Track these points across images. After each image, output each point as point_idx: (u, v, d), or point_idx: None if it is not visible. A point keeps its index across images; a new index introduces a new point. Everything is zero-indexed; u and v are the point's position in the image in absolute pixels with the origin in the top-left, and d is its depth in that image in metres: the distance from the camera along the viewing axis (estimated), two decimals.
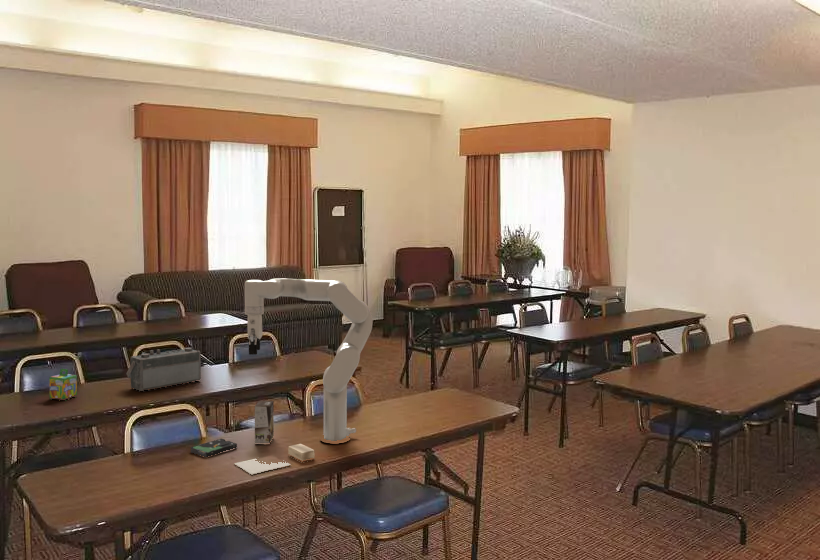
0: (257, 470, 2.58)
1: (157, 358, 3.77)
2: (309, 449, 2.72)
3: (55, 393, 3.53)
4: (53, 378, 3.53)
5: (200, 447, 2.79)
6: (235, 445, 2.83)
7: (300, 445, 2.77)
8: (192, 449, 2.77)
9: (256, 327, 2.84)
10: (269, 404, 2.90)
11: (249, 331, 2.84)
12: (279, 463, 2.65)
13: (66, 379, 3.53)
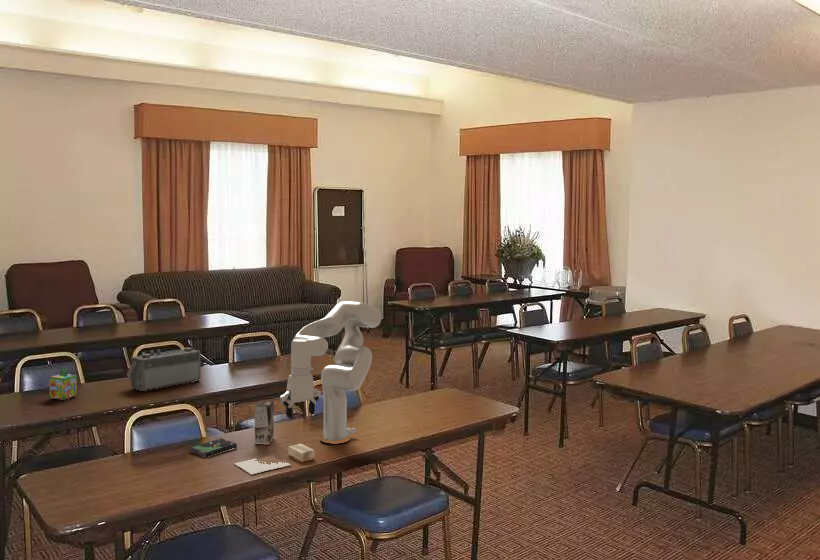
0: (257, 470, 2.58)
1: (158, 358, 3.77)
2: (309, 449, 2.72)
3: (55, 393, 3.53)
4: (53, 378, 3.53)
5: (199, 447, 2.79)
6: (235, 445, 2.83)
7: (300, 445, 2.77)
8: (192, 449, 2.78)
9: None
10: (269, 404, 2.90)
11: None
12: (279, 463, 2.65)
13: (66, 379, 3.53)
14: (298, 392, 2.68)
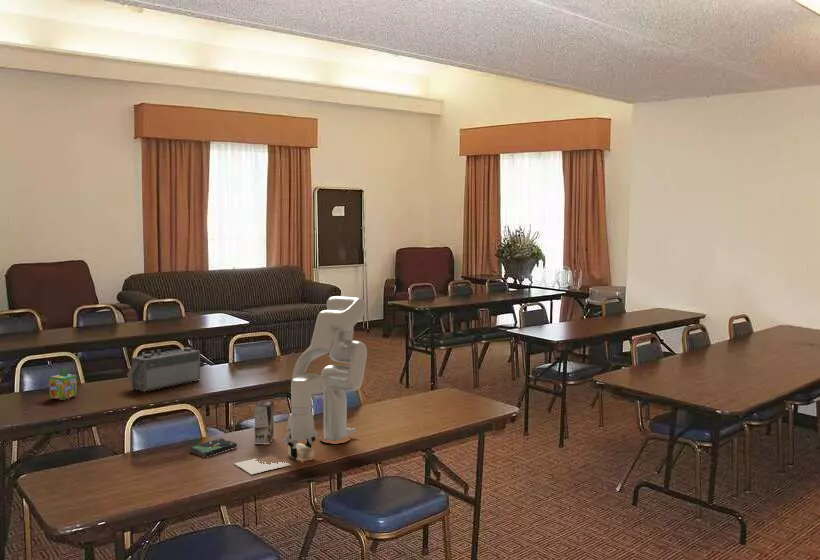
0: (257, 470, 2.58)
1: (159, 358, 3.76)
2: (309, 449, 2.72)
3: (55, 393, 3.53)
4: (53, 378, 3.53)
5: (199, 447, 2.79)
6: (235, 445, 2.83)
7: (300, 444, 2.77)
8: (192, 449, 2.78)
9: None
10: (269, 404, 2.90)
11: None
12: (279, 463, 2.65)
13: (66, 379, 3.53)
14: (298, 431, 2.69)
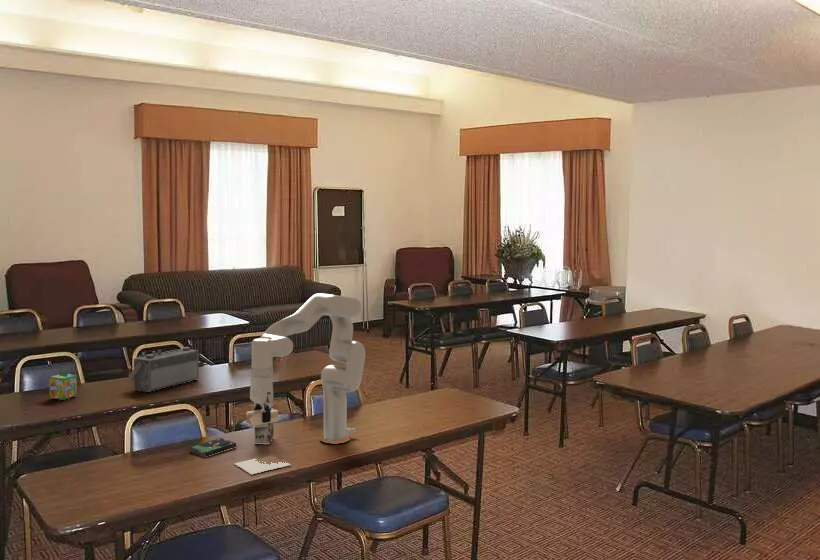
0: (257, 470, 2.58)
1: (162, 358, 3.76)
2: None
3: (55, 393, 3.53)
4: (53, 378, 3.53)
5: (199, 446, 2.79)
6: (234, 444, 2.83)
7: (252, 411, 2.62)
8: (191, 449, 2.78)
9: None
10: None
11: None
12: (279, 463, 2.65)
13: (66, 379, 3.53)
14: None
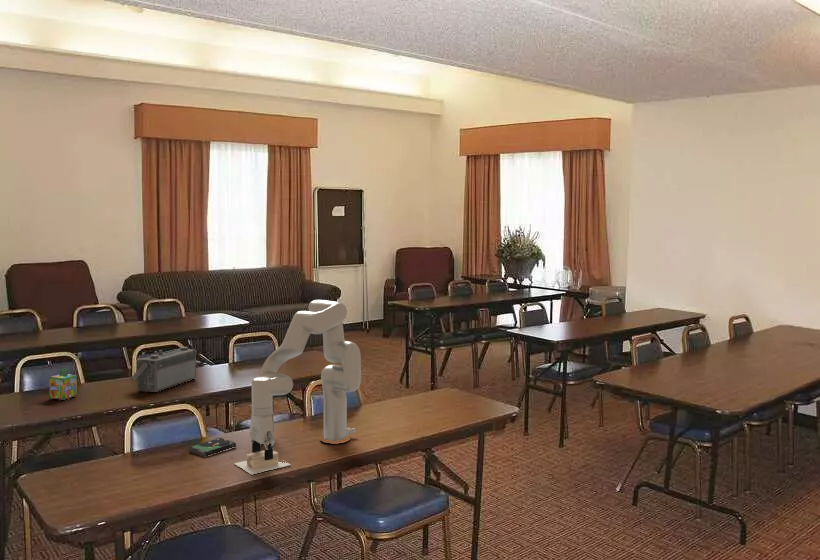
0: (257, 470, 2.58)
1: (166, 358, 3.76)
2: None
3: (55, 393, 3.53)
4: (53, 378, 3.53)
5: (199, 446, 2.79)
6: (234, 444, 2.84)
7: (253, 454, 2.63)
8: (191, 448, 2.78)
9: None
10: None
11: None
12: (279, 463, 2.65)
13: (66, 379, 3.53)
14: None
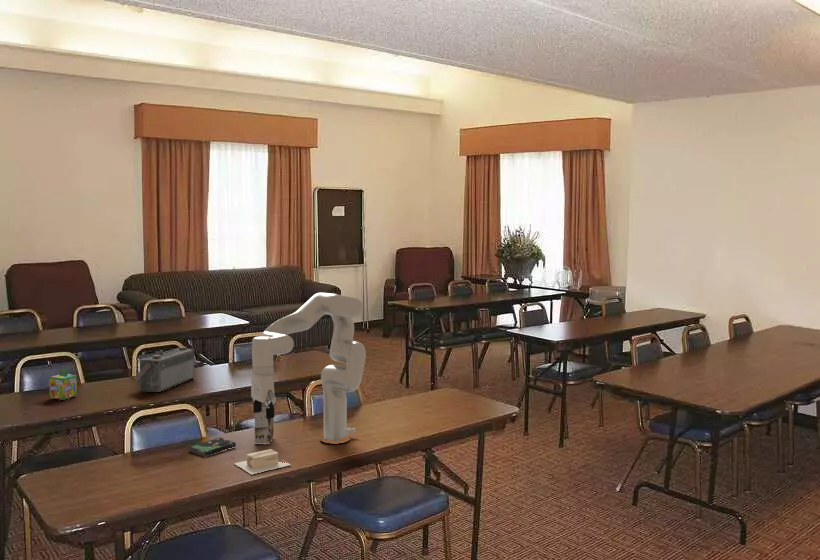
0: (257, 470, 2.58)
1: (168, 358, 3.77)
2: (268, 450, 2.68)
3: (55, 393, 3.53)
4: (53, 378, 3.53)
5: (199, 446, 2.79)
6: (234, 444, 2.84)
7: (253, 454, 2.63)
8: (191, 448, 2.78)
9: None
10: None
11: None
12: (279, 463, 2.65)
13: (66, 379, 3.53)
14: None
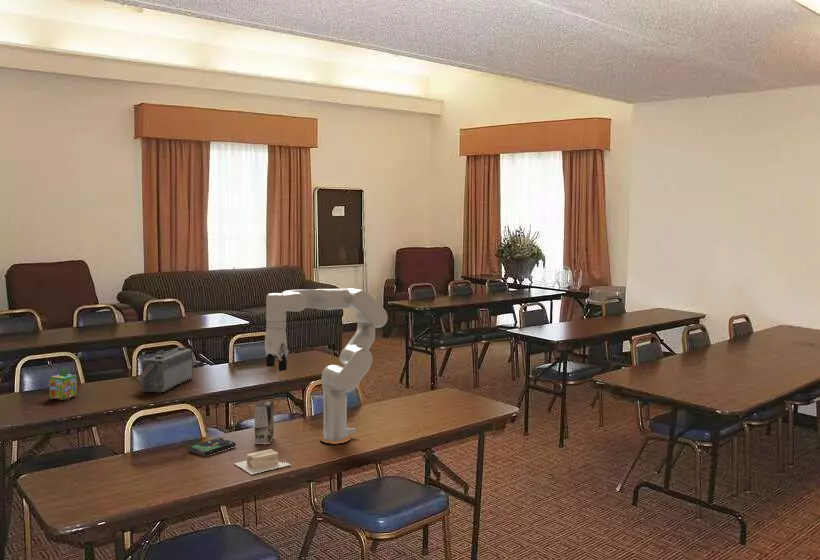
0: (257, 470, 2.58)
1: (170, 358, 3.77)
2: (268, 450, 2.68)
3: (55, 393, 3.53)
4: (53, 378, 3.53)
5: (198, 446, 2.80)
6: (234, 444, 2.84)
7: (253, 454, 2.63)
8: (191, 448, 2.79)
9: None
10: (269, 404, 2.90)
11: None
12: (279, 463, 2.65)
13: (66, 379, 3.53)
14: None
